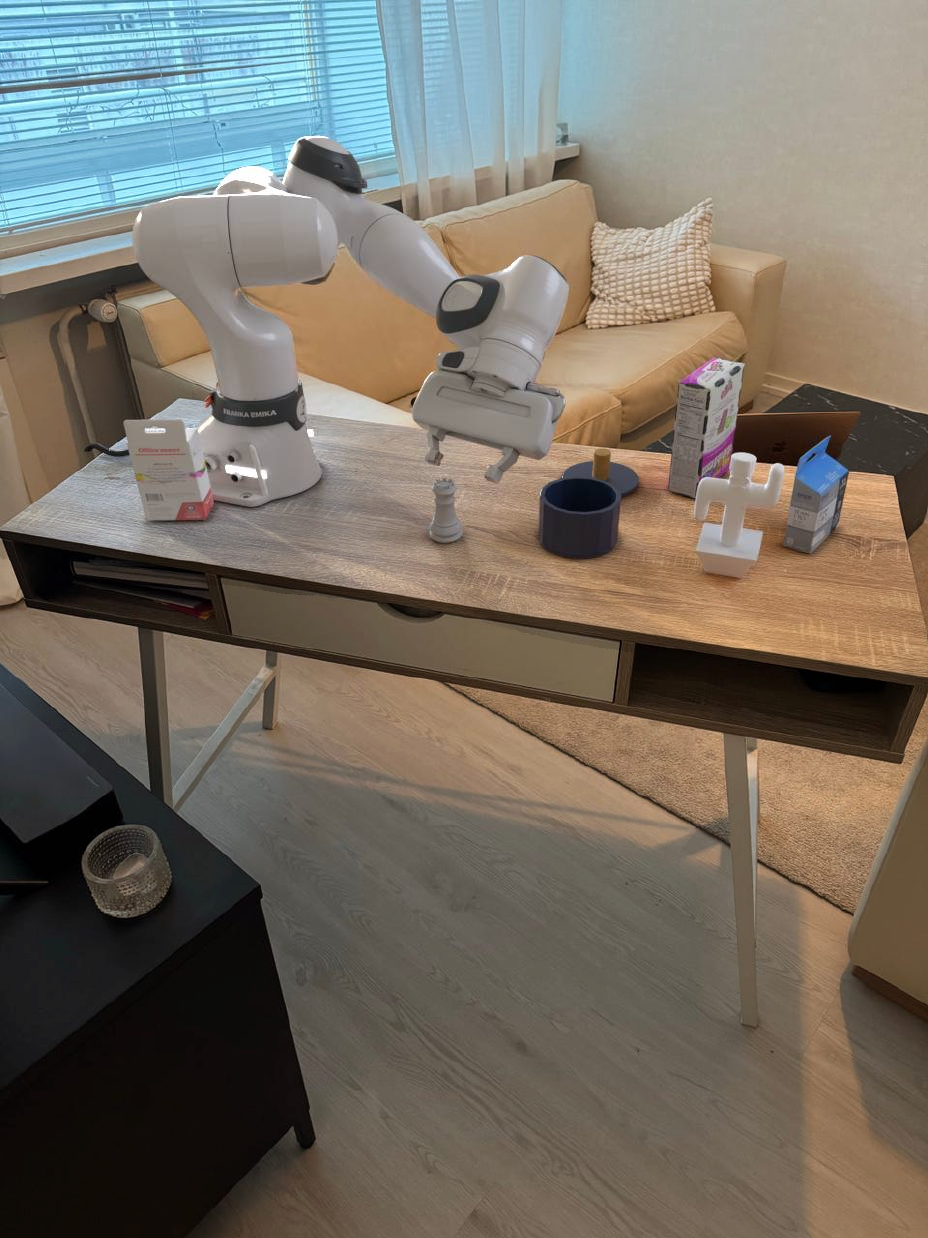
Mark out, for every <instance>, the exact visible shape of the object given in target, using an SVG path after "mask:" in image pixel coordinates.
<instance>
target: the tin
mask: <svg viewBox="0 0 928 1238" xmlns="http://www.w3.org/2000/svg"><path fill="white" fill-rule="evenodd" d="M621 502H622V496H621V493H620V492H619V490H618V489H617V488H616V487H615V486H614V485H612V484H610V483H608V482H606V481H604V480H600V479H596V478H592V477H579V476H574V477H566V478H562V477H560V478H558V479H555V480H552V481H549V482H547V484H545V485H544V486H543V487H541V489H540V493H539V503H538V505H539V508H538V509H539V510H538V538H539V539H538V540H539V543H540V545H541V546H542V547H543V549H545V550H546V551H548V552H549V553H551V554H553V555H555V556H559V557H562V558H566V559H573V560H574V559H575V560H586V559H587V560H588V559H595V558H599V557H601V556H604V555H607V554H609V553H610V552H611V551H613V550H614V549H615V548H616V546H617V543H618V536H619V527H620V526H619V525H620V515H621Z"/></svg>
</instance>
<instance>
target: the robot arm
mask: <svg viewBox="0 0 928 1238" xmlns="http://www.w3.org/2000/svg"><path fill="white" fill-rule="evenodd" d="M287 160H288V165H287V169H286V172H285V174H284V177H283V180H281V179H280V178H279V177H278V176H277V175H276V174H275V173H273V172H272V171H270V170H268V169H265V168H263V167H259V166H246V167H241V168H239V169H236V170H234V171H232V172H231V173H230V174H228V175H227V176H226V177H225V178H224V179H223V180H222V181H221V182H220V184H219V185H218V187H216V189H215V191H214V192H213V193H212V195H197V196H195V195H194V196H177V197H172V198H169V199H165V200H161V201H158V202H154V203H150V204H147V205H144V206H143V207H142V208H141V209H140V210H139V212H138V214H137V215H136V217H135V220H134V223H133V225H132V226H133V227H132V233H131V239H132V240H131V243H132V249H133V253H134V256H135V257H134V258H135V259H136V261H137V264H138V265H139V267H140V269H141V270H142V272H143V273H144V275H146V277H147V278H149V280H150V281H152V282H153V283H154V284H155V285H157V286H158V287H161V288H162V289H164V290H165V291H168V293H170V294H172V296H174V297H175V298H176V299H177V300H179V301H180V302H181V303H182V304H183V306H185V308H187V309H188V311H189V312H190V313H191V314H192V316H193V317H194V318H195V320H196V321H197V323H198V324H199V326H200V328H201V329H202V331H203V333H204V335H205V338H206V341H207V344H208V346H209V351H210V354H211V356H212V362H213V364H214V369H215V374H216V379H217V382H216V383H215V388H213V389H212V390H210V392H209V393H208V396H206V398H204V400H203V403H205V405H204V408H205V409H208V408H209V407H210V406H211V413H209V414H208V415H207V416H206V417H205V418H204V419H203V420H201V421H200V422H199V423H198V424H197V425H195V424H191V425H189V426H187V428H198V432H199V437H200V441H201V445H202V450H203V454H204V459H205V464H206V468H207V473H208V478H209V482H210V487H211V492H212V496H213V501H214V502H220V503H226V504H231V505H236V506H243V507H248V508H255V507H259V506H262V505H264V504H266V503H269V502H271V501H274V500H277V499H282V498H287V497H290V496H293V495H294V496H295V495H297V494H300V493H302V492H304V491H305V492H306V491H307V490H309V489H310V488H312V487H313V486H314V485H316V484H317V483H318V482H319V481H320V479H321V478H322V475H323V471H322V467H321V465H320V463H319V460H318V459H317V457H316V454H315V451H314V449H313V445H312V442H311V438H310V437H314V429H308V427H307V419H308V418H307V403H306V398H305V394H304V387H303V383H302V381H301V380H300V378H299V373H298V372H299V371H298V365H297V358H296V357H297V356H296V350H295V342H294V336H293V332H292V331H291V328H290V327H289V326H288V325H287V323H286V322H285V321H284V320H282V319H281V317H279V316H277V315H276V314H274V313H273V312H271V311H268V310H266V309H263V308H261V307H258V306H257V305H255V304H253V303H252V302H251V301H249V299H247V297H246V296H245V295H244V293H243V292H242V290H241V288H257V287H258V288H261V287H281V286H282V287H283V286H294V285H298V284H299V285H303V286H304V285H307V286H308V285H309V286H316V285H317V286H318V285H320V284H322V283H325V282H326V281H327V280H328V279H329V277H330V275H331V273H332V271H333V269H334V267H335V264H336V263H335V261H336V259H337V256H338V252H339V248H340V246H341V244H342V245H343V246H344V248H345V250H346V252H347V255H348V256H349V257H350V259H351V260H352V262H353V263H354V264H355V266H356V267H357V269H359V271H360V272H361V273H362V274H363V275H364V276H366V277H367V278H368V279H369V280H370V281H371V282H372V283H374V284H375V285H376V286H377V287H379V288H381V289H382V290H383V291H385V292H387V293H389V294H390V295H392V296H393V297H395V298H397V299H399V300H401V301H402V302H405V303H407V304H409V305H411V306H412V307H415V308H416V309H418V310H419V311H422V312H423V313H425V314H426V315H429V316H430V317H432V318H434V319H435V323H436V326H437V330H438V331H440V332H441V334H442V335H443V336H444V337H445V339H447V340H448V341H449V342H450V343H451V344H452V345H453V346H454V347H456V348H457V349H456V350H449V351H443V352H440V353H439V354H438V355H437V357H436V360H435V366H436V368H437V370H434V371H432V372H431V373H430V374H429V375H428V376H427V377H426V379H425V380H424V382H423V384H422V385H421V387H420V389H419V392H418V393H417V395H416V398H415V400H414V403H413V404H412V407H411V412H410V413H411V417H412V418H411V419H412V420H413V422H414V423H415V424H416V425H417V426H418V427H420V428H421V429H423V430H426V431H427V445H428V450H427V452H426V454H425V457H424V461H425V462H426V463H427V464H429V465H432V466H436V467H440V465H441V463H442V462H441V461H443V459H444V456H445V455H444V454H443V453H442V452H441V451H440V442H441V443H443V442H444V440H445V437H446V436H447V437H452V438H454V439H459V440H461V441H466V442H469V443H474V444H476V445H481V446H485V447H488V448H492V449H496V450H500V451H501V455H502V457H501V458H500V459H499V460H498V461H497V462H496V463H495V464H494V465H492V464H488V465H487V467H486V471H485V472H484V475H483V476H484V479H486V481H488V482H490V483H493V484H499V483H500V482H501V480H502V477H503V475H504V473H505V472H507V471H508V470H509V469H511V468H512V467H513V466H514V465H516V463H518V459H519V458H520V456H521V457H525V458H529V459H533V460H537V461H540V460H542V459H543V458H545V457H546V456H548V454H549V452H550V449H551V447H552V443H553V441H554V440H553V439H554V436H555V433H556V429H557V424H558V421H559V419H561V417H562V415H563V413H564V410H565V409H566V408H565V407H566V397H565V395H563V393H561V391H560V389H558V388H555V387H552V386H551V387H548V386H545V385H542V384H538V383H536V381H537V379H538V376H539V374H540V371H541V370H542V367H543V362H544V359H545V356H546V351H547V349H548V347H549V346H550V345H551V344H552V342H553V340H554V339H555V336H556V333H557V332H558V329H559V326H560V324H561V321H562V319H563V316H564V313H565V310H566V306H567V303H568V300H569V299H568V298H569V293H570V292H569V291H570V288H569V287H570V285H569V283H568V280H567V279H566V277H565V275H563V274H562V272H561V271H560V270H559V269H558V268H557V267H556V266H555V265H553V264H552V263H551V262H550V261H548V260H546V259H544V258H543V257H540V256H537V255H533V254H523V255H522V256H520V257H519V258H517V259H516V260H515V261H514V262H512V263H511V265H509V266H507V267H506V268H503V269H500V270H498V271H495V272H491V273H488V274H483V275H481V274H475V273H474V274H466V275H462V276H460V275H459V274H458V272H457V271H456V269H455V268H454V267H453V266H452V263H450V261H449V260H448V259H447V257H446V256H445V255H444V254H443V252H442V251H441V249H440V248H439V247H438V245H437V244H436V242H435V241H434V240H433V239H432V238H431V236H430V235H429V234H428V233H427V232H426V231H425V230H424V228H422V226H421V225H420V224H418V223H417V222H416V220H413V219H412V218H411V217H409V216H408V215H406V214H405V213H403V212H401V211H399V210H397V209H395V208H393V207H391V206H389V205H385V204H382V203H379V202H376V201H372V200H369V199H367V198H366V197H365V196H364V195H363V193H364V192H363V189H368V181H367V180H366V179H364V178H363V177H362V172H361V168H360V166H359V162H357V160H356V158H355V157H354V155H353V154H352V153H351V151H349V150H347V149H346V148H345V147H344V146H343V145H342V144H340V143H339V142H337V140H335V139H332V138H329V137H326V136H320V135H315V136H303V137H300V138H298V139H297V140H296V142H295V143H294V144H293V146H292V149H291V151H290V153H289V156H288V158H287ZM94 449H95V450H97V451H99V452H101V453H102V454H105V455H106V456H110V457H114V458H122V457H123V458H124V457H128V456H130V454H129V450H128V448H127V449H124V450H114V449H110V448H109V447H108V448H107V447H106V446H104V445H102V444H100V443H98V442H90V443H88V444H86V446H85V447H84V449H83V451H84V452H85V453H89V452H91V451H92V450H94ZM109 450H110V451H109Z"/></svg>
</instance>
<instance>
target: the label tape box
mask: <svg viewBox="0 0 928 1238" xmlns="http://www.w3.org/2000/svg"><path fill="white" fill-rule="evenodd" d="M831 437H832V435H829V436H828V435H827V437H825V438H823V439H822V440H821V441H819V443H817V444H816V445H815V446H813V447H812V448H811V449H809V450H808V451H807V452H805V454H803V455H802V456H801V457H800V458H799V459H798V463H797V466H796V471H795V474H794V480H793V486H792V491H791V496H790V497H791V498H790V503H789V509H788V515H787V521H786V527H785V534H784V539H783V546H784V547H787V548H790V549H793V550H796V551H798V552H802V553H806V554H808V555H809V554H812V553H813V552H814V551H816V549H817V548H818V547H819V546H820V545H821V544H822V543H823V542H824V541H825V540H826V539H827V538H828V537H829V536H830V535H831V534H832V533H833V532H834V531H835V530H837V528H838V527H839V523H840V517H841V514H842V508H843V503H844V499H845V494H846V489H847V483H848V479H849V474H850V470H849V469H848V468H846V467H845V466H843V465H842V464H841V463H840V462H838V461H837V460H835V459H834V458H833V457H831V456H830V455H829V454H828V453H826V451H827V447H828V445H829V441H830V439H831ZM813 454H814V456H813ZM812 456H813V457H812ZM811 457H812V458H811ZM810 458H811V459H810Z"/></svg>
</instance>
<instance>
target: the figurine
mask: <svg viewBox="0 0 928 1238" xmlns="http://www.w3.org/2000/svg"><path fill="white" fill-rule="evenodd" d="M756 463H757V457H756V456H755V455H754V454H751V453H749V452H734V453H732V456H731V461H730V467H729V469H730V470H729V471H730V472H729V478H728V479H727V478H725V479H724V478H720V479H719V478H711V477H705V478H703V479H702V480H701V481H700V482H699V485H698V488H697V494H696V499H695V502H694V508H693V517H694V519H696V520H697V521H703V520H705V519H706V518H707V516H708V513H709V507H710V503H711V502H716V503H724V510H723V515H722V521H721V524H718V523H717V524H716V523H712V522H711V523H710V522H704V523H703V525H702V527H701V531H700V534H699V537H698V540H697V543H696V548H695V549H694V551H695V553H696V555H697V557H698V560H699V562H700V564H701V567H702V568H703V570H704V572H705V573H709V574H714V575H720V576H725V577H731V578H737V579H742V578H743V577H744V576H745V575H746V574H747V573H748V571H749V570H750V569H751V568H752V567H753V566H754V565H755V564H756V563H757V561H758V557H759V553H760V550H761V549H760V548H761V544H762V539H763V534H764V531H763V530H756V529H749V528H743V527H744V521H745V518H746V517H745V515H746V511H747V507H751V508H757V509H764V510H765V509H766V510H771V509H774V508H775V507H776V506H777V504H778V503H779V499H780V496H781V491H782V487H783V482H784V476H785V470H786V469H785V466H784V465H783V464H782V463H779V462H777V463H773V464H772V465H771V467H770V469H769V474H768V478H767V481H766V483H764V484H761V483H755V482H753V481H752V476H753V473H755V469H756Z"/></svg>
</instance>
